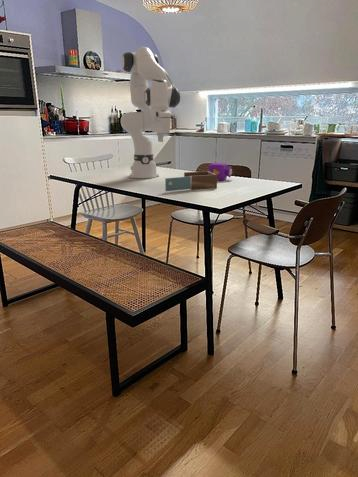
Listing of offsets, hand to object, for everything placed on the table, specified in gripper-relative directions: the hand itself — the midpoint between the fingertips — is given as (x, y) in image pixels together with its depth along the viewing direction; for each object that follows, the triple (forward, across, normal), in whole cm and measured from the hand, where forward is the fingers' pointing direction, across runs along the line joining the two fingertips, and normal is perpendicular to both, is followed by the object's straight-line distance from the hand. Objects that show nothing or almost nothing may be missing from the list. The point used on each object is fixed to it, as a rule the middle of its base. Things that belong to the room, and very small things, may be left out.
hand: (160, 141), depth 192 cm
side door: (+24, +12, +6) cm, 27 cm away
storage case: (+24, +4, +21) cm, 32 cm away
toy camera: (+24, -12, +41) cm, 50 cm away
